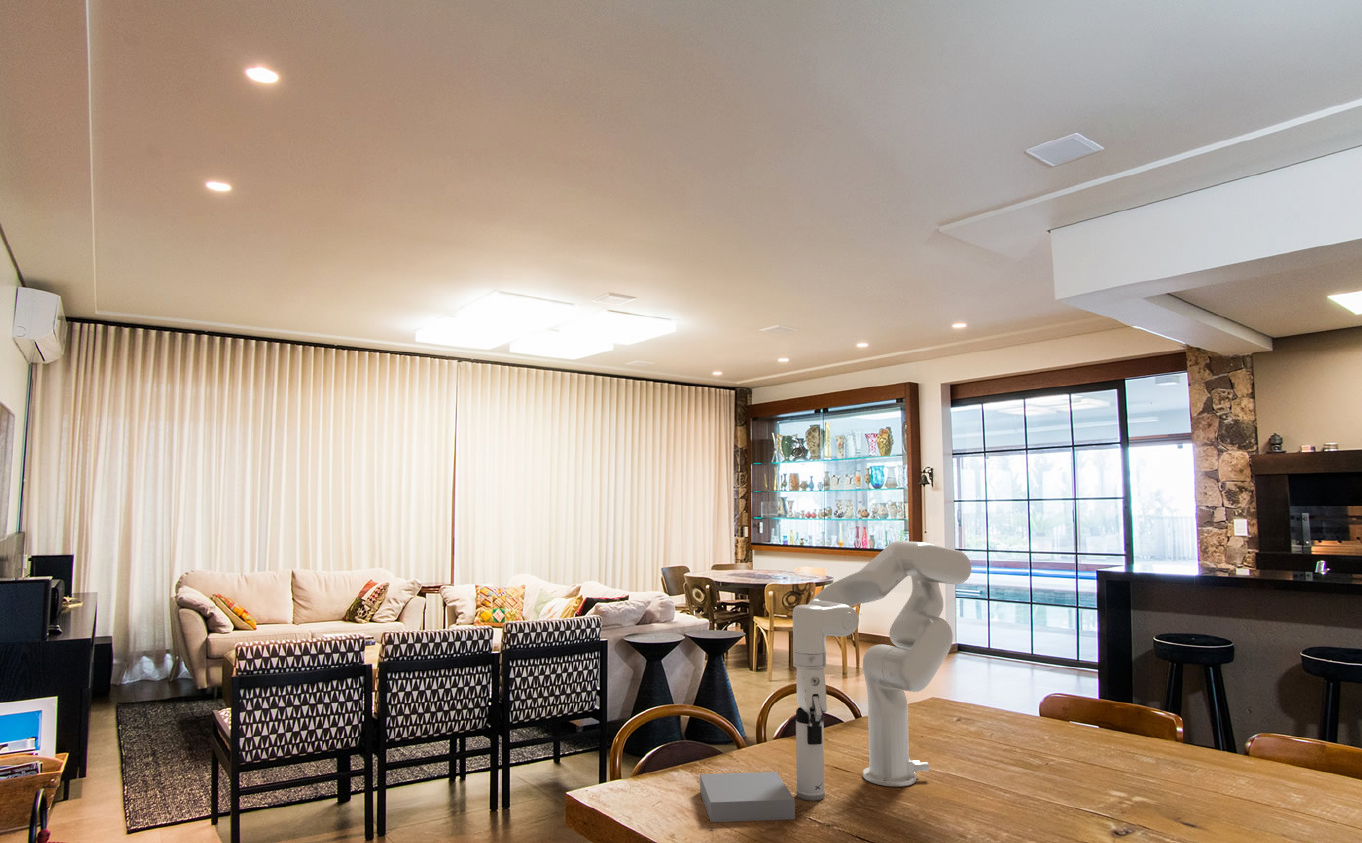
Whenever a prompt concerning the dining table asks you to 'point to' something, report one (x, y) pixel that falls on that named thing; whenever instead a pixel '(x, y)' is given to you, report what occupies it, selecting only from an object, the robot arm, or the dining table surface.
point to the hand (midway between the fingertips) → (810, 738)
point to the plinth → (746, 797)
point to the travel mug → (809, 761)
